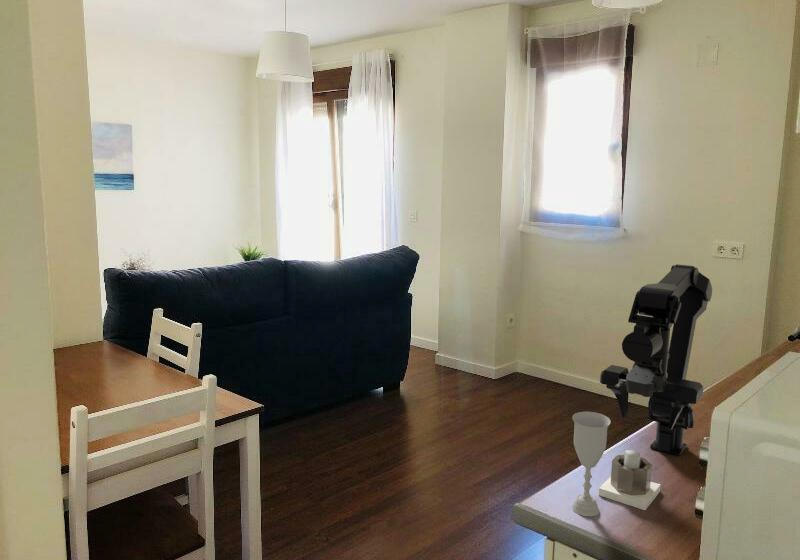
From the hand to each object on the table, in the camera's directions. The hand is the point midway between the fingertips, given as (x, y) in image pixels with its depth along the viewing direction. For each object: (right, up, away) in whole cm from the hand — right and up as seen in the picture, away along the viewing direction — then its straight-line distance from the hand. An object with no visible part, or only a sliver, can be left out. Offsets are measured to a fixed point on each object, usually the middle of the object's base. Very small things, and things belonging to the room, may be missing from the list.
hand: (647, 423), depth 131 cm
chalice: (-15, -14, -10) cm, 23 cm away
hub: (-5, -11, -4) cm, 13 cm away
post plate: (-5, -13, -4) cm, 14 cm away
